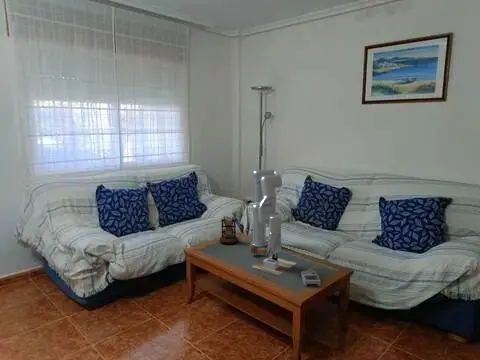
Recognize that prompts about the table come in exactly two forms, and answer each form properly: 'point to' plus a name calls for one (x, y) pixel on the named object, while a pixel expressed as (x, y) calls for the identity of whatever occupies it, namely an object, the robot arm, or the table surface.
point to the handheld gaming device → (310, 277)
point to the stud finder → (271, 264)
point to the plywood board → (282, 267)
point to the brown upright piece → (228, 231)
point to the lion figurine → (257, 250)
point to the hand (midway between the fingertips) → (274, 262)
